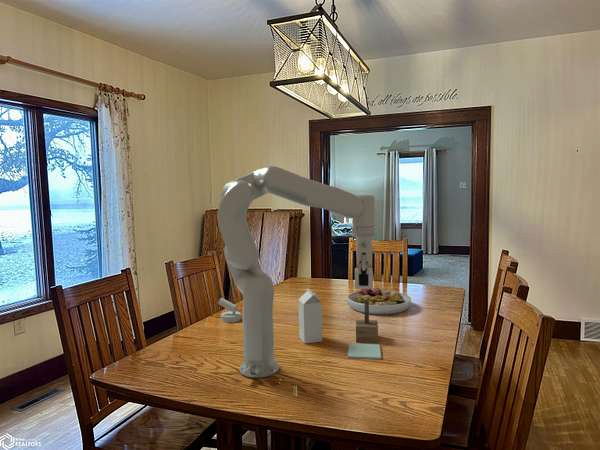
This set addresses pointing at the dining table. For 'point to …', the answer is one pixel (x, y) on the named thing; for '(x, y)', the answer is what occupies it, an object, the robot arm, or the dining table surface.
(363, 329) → the post
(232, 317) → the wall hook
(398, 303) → the bowl
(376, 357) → the mat
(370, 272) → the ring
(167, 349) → the dining table surface
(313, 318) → the milk carton
